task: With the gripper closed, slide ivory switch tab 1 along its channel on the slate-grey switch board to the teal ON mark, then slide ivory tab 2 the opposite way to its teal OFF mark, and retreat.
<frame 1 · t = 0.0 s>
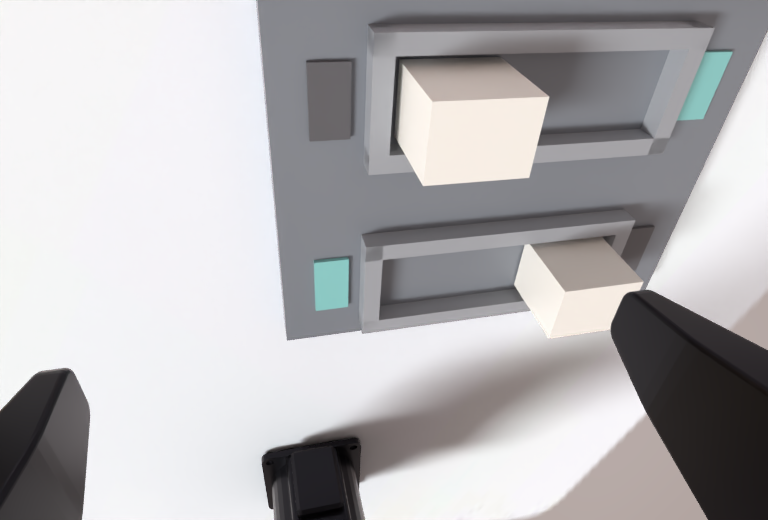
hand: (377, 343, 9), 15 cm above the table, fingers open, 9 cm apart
tab2: (463, 118, 19), point 3 cm above the table, slide at 0.0 cm
switch board: (497, 175, 25), on the table
tab1: (573, 283, 26), point 3 cm above the table, slide at 0.0 cm
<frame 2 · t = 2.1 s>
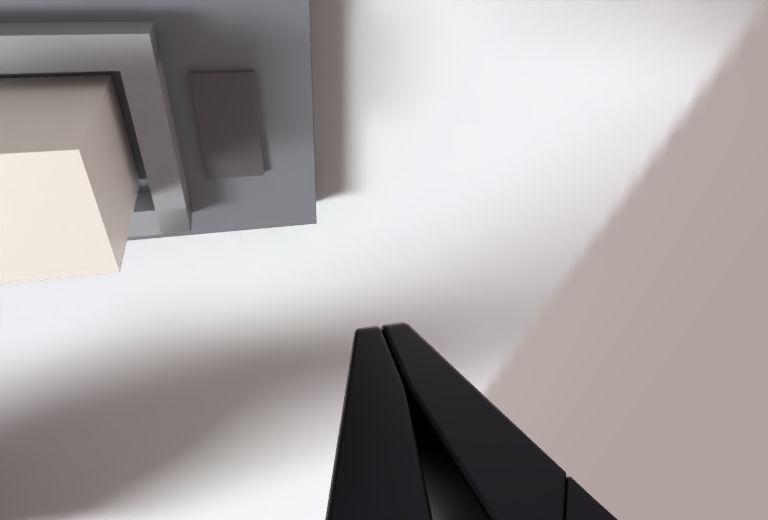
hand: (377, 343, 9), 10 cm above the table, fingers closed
tab1: (19, 175, 12), point 3 cm above the table, slide at 0.0 cm
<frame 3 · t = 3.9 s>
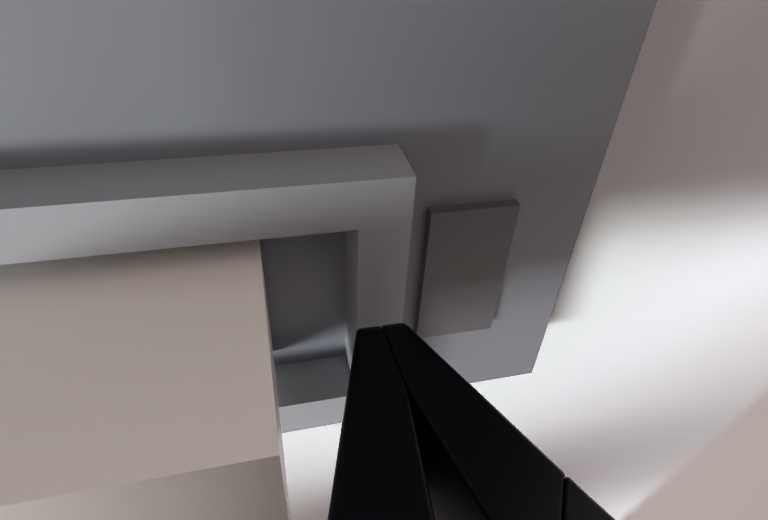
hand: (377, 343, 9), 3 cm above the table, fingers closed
tab1: (127, 413, 7), point 3 cm above the table, slide at 1.0 cm, touching gripper
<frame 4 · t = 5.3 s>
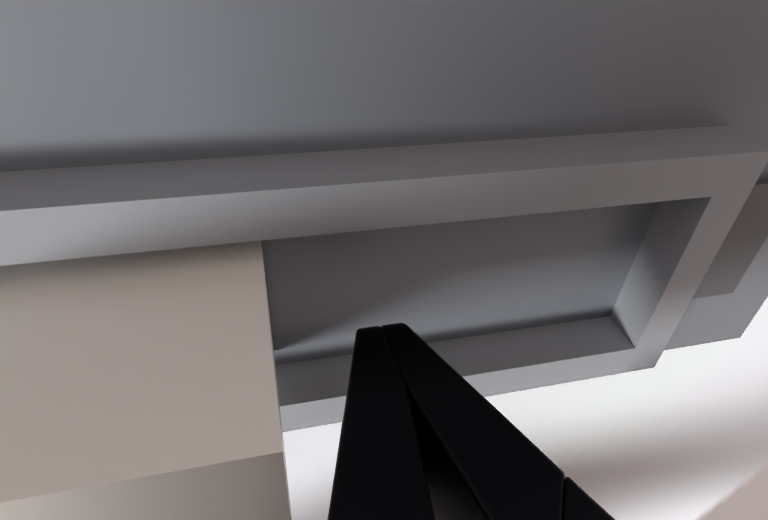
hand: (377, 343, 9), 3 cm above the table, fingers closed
switch board: (342, 0, 8), on the table
tab1: (131, 411, 7), point 3 cm above the table, slide at 7.1 cm, touching gripper
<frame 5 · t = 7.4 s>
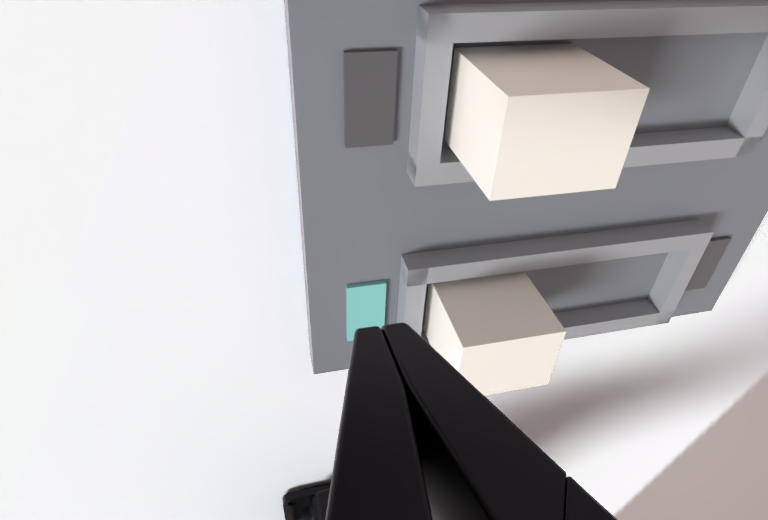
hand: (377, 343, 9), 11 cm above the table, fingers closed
tab2: (533, 117, 16), point 3 cm above the table, slide at 0.0 cm
switch board: (555, 183, 22), on the table
tab1: (488, 329, 22), point 3 cm above the table, slide at 7.2 cm
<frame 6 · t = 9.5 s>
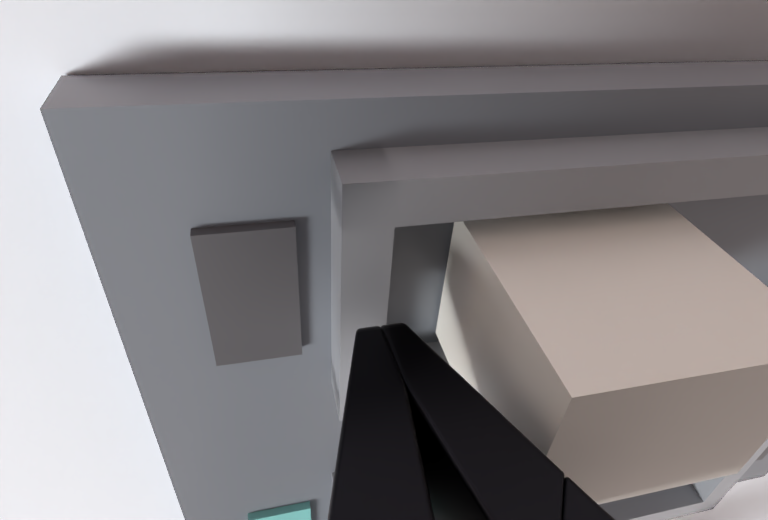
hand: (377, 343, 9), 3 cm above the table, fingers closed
tab2: (594, 339, 9), point 3 cm above the table, slide at 1.0 cm, touching gripper
switch board: (566, 353, 15), on the table
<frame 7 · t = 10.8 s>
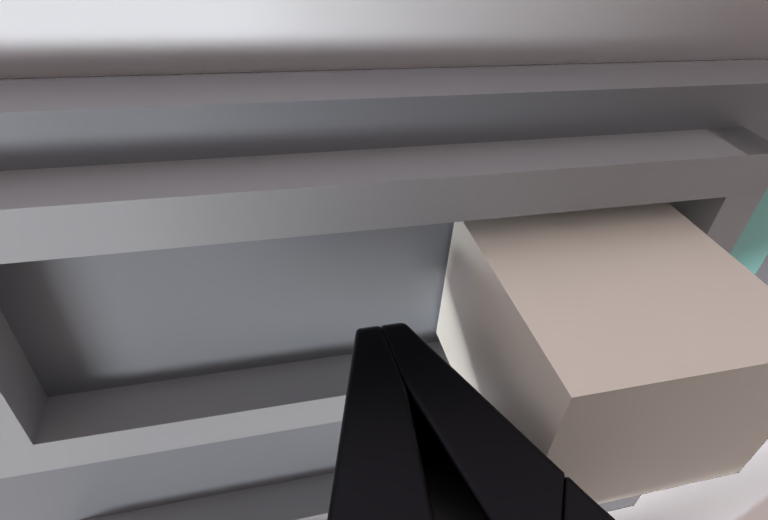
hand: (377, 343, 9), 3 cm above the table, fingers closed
tab2: (594, 339, 9), point 3 cm above the table, slide at 7.0 cm, touching gripper
switch board: (354, 385, 14), on the table
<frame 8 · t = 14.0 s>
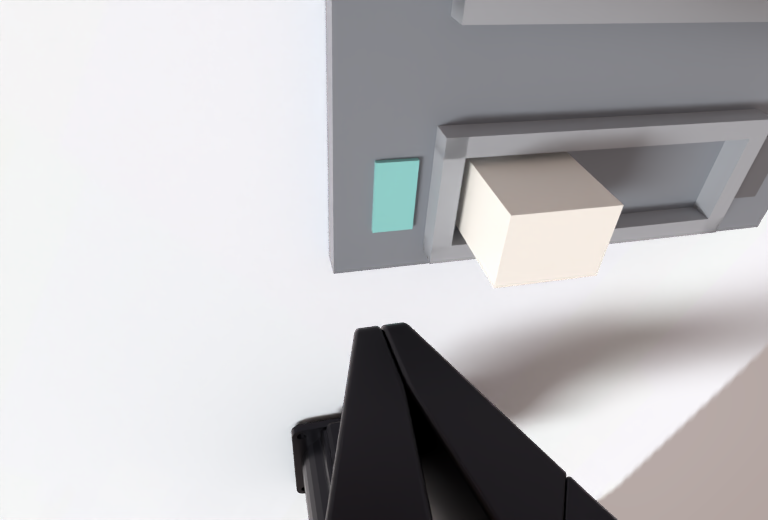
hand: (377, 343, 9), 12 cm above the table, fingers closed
switch board: (605, 57, 20), on the table
tab1: (530, 215, 19), point 3 cm above the table, slide at 7.2 cm
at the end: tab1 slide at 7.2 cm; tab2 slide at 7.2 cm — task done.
